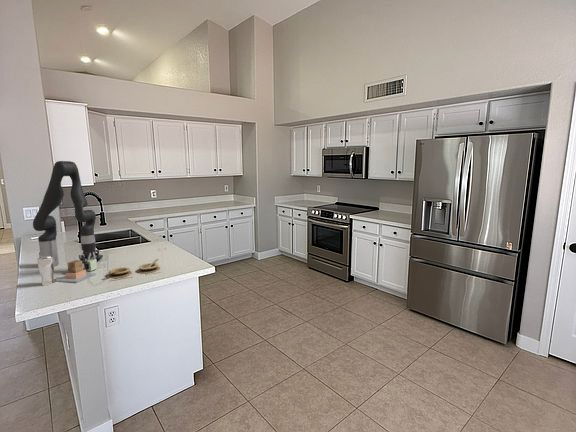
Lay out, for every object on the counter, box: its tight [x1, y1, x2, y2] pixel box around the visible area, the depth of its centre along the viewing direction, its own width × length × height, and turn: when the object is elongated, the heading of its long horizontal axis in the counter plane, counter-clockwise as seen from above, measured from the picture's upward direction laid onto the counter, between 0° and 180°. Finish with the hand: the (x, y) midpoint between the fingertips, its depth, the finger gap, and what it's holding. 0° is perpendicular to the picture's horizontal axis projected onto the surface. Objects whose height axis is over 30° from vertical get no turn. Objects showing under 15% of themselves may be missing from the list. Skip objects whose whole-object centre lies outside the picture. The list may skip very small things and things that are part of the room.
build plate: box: [55, 269, 97, 284], centre depth 182 cm, size 14×14×4 cm
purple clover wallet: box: [86, 254, 104, 262], centre depth 218 cm, size 9×3×11 cm
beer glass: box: [37, 256, 56, 287], centre depth 172 cm, size 7×7×15 cm
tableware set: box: [106, 258, 163, 282], centre depth 192 cm, size 30×20×6 cm, turn 122°
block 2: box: [83, 259, 98, 272], centre depth 196 cm, size 5×5×6 cm
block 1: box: [67, 259, 84, 273], centre depth 181 cm, size 5×5×6 cm
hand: (90, 268), depth 196 cm, fingers closed on block 2, 5 cm apart
